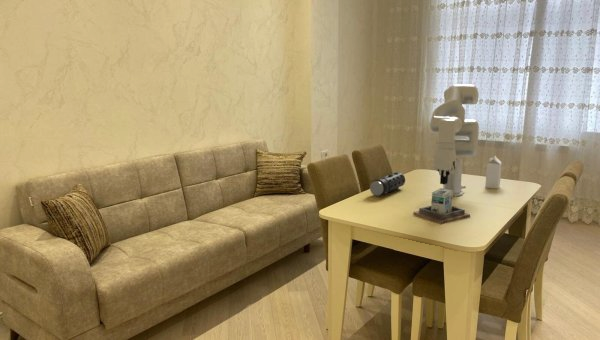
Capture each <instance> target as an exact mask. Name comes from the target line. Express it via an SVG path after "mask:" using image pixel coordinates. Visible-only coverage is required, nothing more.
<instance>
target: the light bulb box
mask: <svg viewBox="0 0 600 340" xmlns="http://www.w3.org/2000/svg"><path fill="white" fill-rule="evenodd" d="M453 197H454V196H453V190H447V189H443V187H442V188H440V187H439V188H438V189H436V190H435V191H433V192H431V205H430V206H431V211H432V212H435V213H438V214H445V213H449V212H452V206H453Z"/></svg>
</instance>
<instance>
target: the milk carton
mask: <svg viewBox="0 0 600 340" xmlns="http://www.w3.org/2000/svg"><path fill="white" fill-rule="evenodd" d="M502 164H503V163H502V161H501V160H500V159H499V158H498V157H497V155H495V156H493V157H490V158H489V159H488V162H487V163H486V173H485V183H484V184H485V186H484V187H485V188H488V189H496V188H498V189H500V187H499V186H500V185H501V177H502V176H501V174H502V166H503V165H502Z"/></svg>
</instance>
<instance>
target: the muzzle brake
mask: <svg viewBox="0 0 600 340" xmlns="http://www.w3.org/2000/svg"><path fill="white" fill-rule="evenodd" d="M405 183H406V178H405V175H404V174H403V173H402V172H399V171H396V172H394V173H391V174H388V175H386V176H383V177H379V178H376V179H374V180H373V181H372V182H371V184H370V185H369V191H370V193H371V194H372V195H374V196H376V197H383V196H385V195H386V194H388V193H391V192H393V191H396V190H398V189H399V188H400V187H403V186H404V185H405Z"/></svg>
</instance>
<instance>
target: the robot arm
mask: <svg viewBox="0 0 600 340" xmlns="http://www.w3.org/2000/svg"><path fill="white" fill-rule="evenodd" d="M443 98H444V102H443V103H441V104H440V105H438V106H437V107H435V108H434V110H433V112H432V113H431V118H430V125H429V126H430V130H431V131H432V132H434V133H437V142H436V145H437V147H436V148H435V150H434V156H433V162H432V166H433V168H434V170H436V171H437V172H438V173H439V176H440V179H439V183H440V185H443V187H442V189H447V190H453V197H460V196H463V195H464V192H463V191H462V190H464V189H466V188H467V187H466V184H465V185H464V184H463V185H462V178H463V177H462V175H463V162H462V160H461V159H460V157H469V158H470V157H475V156H476V155H477V154H478V144H479V130H480V129H479V128H480V127H479V122H478V121H477V120H475V119H466V117H465V116H466V110H465V107H464V106H463V105H475V104H477V103H478V101H479V98H480V97H479V89H478V88H477V86H475V85H474V84H453V85H451V86H449V87H448V88H447V89H445V90H444V93H443ZM456 137H460V138H456ZM461 137H463V138H461ZM467 138H468V139H467Z"/></svg>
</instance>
